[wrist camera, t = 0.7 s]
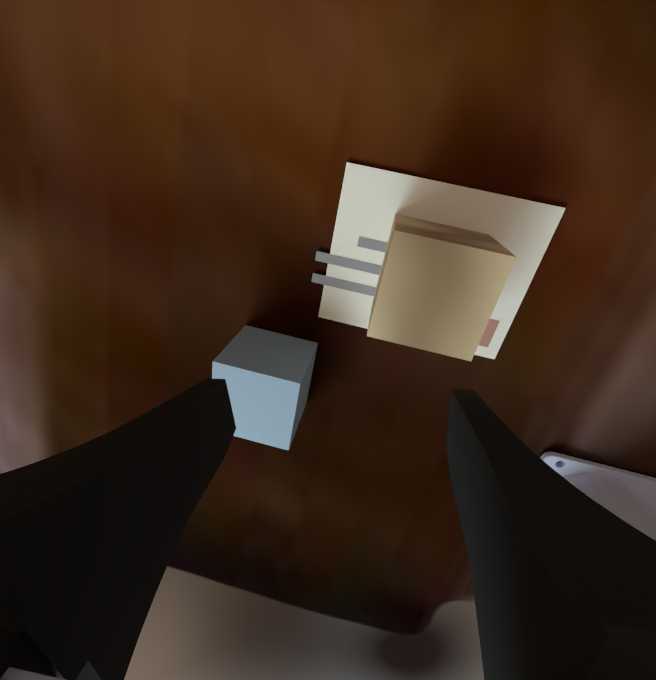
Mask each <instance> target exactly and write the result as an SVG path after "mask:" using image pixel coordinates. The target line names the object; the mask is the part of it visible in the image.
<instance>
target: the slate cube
mask: <svg viewBox="0 0 656 680" xmlns="http://www.w3.org/2000/svg"><path fill="white" fill-rule="evenodd" d="M317 345H318V343H316V342H312V341H308V340H304V339H300V338H296V337H292V336H288V335H284V334H280V333H276V332H272V331H268V330H263V329H259V328H255V327H251V326H247V325H245V326H244V328H243V329H242V330H241V331H240V332H239V333H238V334H237V335H236V336H235V337H234V339H233V340H232V341H231V342H230V343H229V344H228V345H227V346H226V347H225V348H224V350H223V351H222V352H221V353H220V354H219V355H218V356H217V357H216V358H215V359H214V361H213V367H212V379H226V384H227V388H228V393H229V398H230V402H231V407H232V411H233V416H234V420H235V425H236V430H235V432H234V435H233V436H236V437H240V438H244V439H247V440H251V441H255V442H259V443H262V444H266V445H270V446H274V447H277V448H281V449H285V450H289V448H290V445H291V443H292V440H293V437H294V435H295V432H296V429H297V426H298V424H299V421H300V418H301V416H302V413H303V410H304V408H305V405H306V402H307V397H308V392H309V387H310V381H311V376H312V371H313V366H314V361H315V356H316V350H317Z"/></svg>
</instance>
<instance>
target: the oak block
mask: <svg viewBox="0 0 656 680" xmlns="http://www.w3.org/2000/svg"><path fill="white" fill-rule="evenodd" d="M516 258H517V257H516V256H515V255H513V254H512V253H511V252H510V251H509V250H507V249H506V248H505V247H504V246H502V245H501V244H500V243H499V242H498V241H496V240H495V239H494V238H493V237H492V236H490V235H489V234H485V233H481V232H476V231H472V230H467V229H462V228H458V227H453V226H449V225H444V224H439V223H435V222H430V221H426V220H421V219H416V218H412V217H407V216H403V215H398V214H395V216H394V220H393V224H392V228H391V232H390V236H389V239H388V243H387V247H386V251H385V255H384V259H383V263H382V266H381V270H380V274H379V278H378V282H377V286H376V290H375V293H374V297H373V302H372V308H371V314H370V319H369V325H368V331H367V336H369V337H373V338H377V339H381V340H385V341H389V342H393V343H398V344H402V345H406V346H410V347H414V348H418V349H422V350H427V351H431V352H435V353H439V354H443V355H447V356H451V357H455V358H460V359H464V360H468V361H472V358H473V356H474V354H475V351H476V349H477V347H478V345H479V342H480V340H481V338H482V335H483V333H484V331H485V329H486V326H487V324H488V322H489V319H490V317H491V315H492V313H493V310H494V308H495V306H496V303H497V301H498V299H499V296H500V294H501V292H502V290H503V287H504V285H505V283H506V280H507V278H508V276H509V274H510V271H511V269H512V267H513V264H514V262H515V260H516Z"/></svg>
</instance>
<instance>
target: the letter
mask: <svg viewBox="0 0 656 680" xmlns="http://www.w3.org/2000/svg"><path fill="white" fill-rule="evenodd" d="M565 209H566V208H563V207H559V206H554V205H549V204H544V203H540V202H535V201H530V200H525V199H520V198H516V197H511V196H506V195H501V194H497V193H492V192H487V191H482V190H478V189H473V188H468V187H463V186H459V185H454V184H449V183H444V182H439V181H435V180H430V179H425V178H420V177H416V176H411V175H406V174H401V173H397V172H392V171H387V170H382V169H378V168H373V167H368V166H363V165H358V164H354V163H349V162H347V164H346V170H345V175H344V180H343V186H342V191H341V196H340V202H339V207H338V213H337V218H336V223H335V229H334V234H333V239H332V245H331V250H330V254H328V253H323V252H319V251H317V252H316V258H315V261H320V262H324V263H328V266H327V272H326V276H324V275H320V274H315V273H313V276H312V282H314V283H319V284H323V285H324V288H323V293H322V299H321V304H320V309H319V315H318V317H321V318H325V319H329V320H333V321H337V322H341V323H346V324H350V325H354V326H358V327H362V328H366V329H368V325H369V319H370V314H371V308H372V302H373V297H374V293H375V290H376V286H377V282H378V278H379V274H380V270H381V266H382V263H383V259H384V255H385V251H386V247H387V243H388V239H389V236H390V232H391V228H392V224H393V220H394V216H395V214H398V215H403V216H407V217H412V218H416V219H421V220H426V221H430V222H435V223H439V224H444V225H449V226H453V227H458V228H462V229H467V230H472V231H476V232H481V233H485V234H489V235H490V236H492V237H493V238H494V239H495V240H496V241H498V242H499V243H500V244H501V245H502V246H504V247H505V248H506V249H507V250H509V251H510V252H511V253H512V254H513V255H515V256H516V257H517V258H516V260H515V262H514V264H513V267H512V269H511V271H510V274H509V276H508V278H507V280H506V283H505V285H504V287H503V290H502V292H501V294H500V296H499V299H498V301H497V303H496V306H495V308H494V310H493V313H492V315H491V317H490V319H489V322H488V324H487V326H486V329H485V331H484V333H483V335H482V338H481V340H480V342H479V345H478V347H477V349H476V351H475V354H474V355H479V356H483V357H487V358H491V359H495V357H496V355H497V353H498V351H499V349H500V347H501V345H502V342H503V340H504V338H505V336H506V334H507V332H508V330H509V328H510V325H511V323H512V321H513V319H514V317H515V315H516V313H517V311H518V308H519V306H520V304H521V302H522V300H523V298H524V296H525V294H526V292H527V289H528V287H529V285H530V283H531V281H532V279H533V277H534V275H535V272H536V270H537V268H538V266H539V264H540V262H541V260H542V258H543V255H544V253H545V251H546V249H547V247H548V245H549V243H550V241H551V238H552V236H553V234H554V232H555V230H556V228H557V226H558V224H559V222H560V219H561V217H562V215H563V213H564V211H565Z"/></svg>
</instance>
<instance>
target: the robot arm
mask: <svg viewBox="0 0 656 680" xmlns="http://www.w3.org/2000/svg"><path fill="white" fill-rule="evenodd" d="M235 430H236V425H235V420H234V416H233V411H232V407H231V402H230V398H229V393H228V388H227V384H226V379H212V378H208V379H206V380H204V381H202V382H200V383H198V384H196V385H194V386H192V387H191V388H189V389H187V390H185V391H184V392H182V393H180V394H178V395H177V396H175V397H173V398H171V399H170V400H168V401H166V402H165V403H163V404H161V405H159V406H158V407H156V408H154V409H152V410H151V411H149V412H147V413H145V414H143V415H141V416H139V417H138V418H136V419H134V420H132V421H130V422H128V423H126V424H124V425H123V426H121V427H119V428H117V429H115V430H113V431H111V432H108V433H106V434H104V435H102V436H100V437H98V438H95V439H93V440H91V441H89V442H87V443H84V444H82V445H80V446H77V447H75V448H72V449H70V450H67V451H64V452H62V453H59V454H57V455H54V456H51V457H49V458H46V459H44V460H41V461H38V462H36V463H33V464H30V465H27V466H24V467H21V468H18V469H15V470H12V471H9V472H6V473H2V474H0V680H124V677H125V675H126V672H127V669H128V666H129V663H130V660H131V657H132V655H133V652H134V649H135V646H136V643H137V640H138V638H139V635H140V632H141V629H142V627H143V624H144V622H145V619H146V617H147V614H148V611H149V609H150V606H151V604H152V601H153V599H154V596H155V593H156V591H157V589H158V586H159V584H160V581H161V579H162V577H163V574H164V572H165V569H166V567H167V565H168V563H169V560H170V558H171V556H172V554H173V551H174V549H175V547H176V545H177V542H178V540H179V538H180V536H181V534H182V531H183V529H184V527H185V525H186V524H187V522H188V520H189V518H190V516H191V514H192V512H193V511H194V509H195V507H196V505H197V504H198V502H199V500H200V499H201V497H202V495H203V493H204V492H205V490H206V488H207V486H208V485H209V483H210V481H211V480H212V478H213V476H214V474H215V473H216V471H217V469H218V467H219V466H220V464H221V462H222V460H223V458H224V457H225V455H226V452H227V450H228V448H229V445H230V443H231V440H232V438H233V435H234V432H235ZM446 446H447V456H448V465H449V473H450V478H451V482H452V487H453V491H454V495H455V500H456V504H457V508H458V512H459V517H460V521H461V525H462V530H463V534H464V538H465V542H466V547H467V552H468V557H469V562H470V568H471V576H472V583H473V590H474V598H475V605H476V613H477V621H478V629H479V636H480V645H481V652H482V662H483V671H484V680H656V478H654V477H650V476H646V475H642V474H638V473H634V472H630V471H626V470H622V469H618V468H615V467H611V466H607V465H603V464H599V463H595V462H591V461H587V460H583V459H579V458H575V457H571V456H567V455H564V454H560V453H556V452H546V453H544V454H543V455H542V456H541V457H538V456H537V455H536V454H535V453H534V452H533V451H532V450H531V449H530V448H529V447H527V446H526V445H525V444H524V443H523V442H522V441H521V440H520V439H519V438H518V437H517V436H516V435H515V434H514V433H513V432H512V431H511V430H510V429H509V428H508V427H507V426H506V425H505V424H504V423H503V421H502V420H501V419H500V418H499V417H498V416H497V415H496V414H495V413H494V412H493V411H492V409H491V408H490V407H489V406H488V405H487V404H486V403H485V402H484V400H483V399H482V398H481V397H480V396H479V395H478V394H477V393H476V392H475V391H474V390H473V389H452V391H451V401H450V410H449V420H448V430H447V439H446ZM558 461H561V462H559V463H556V462H558Z"/></svg>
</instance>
